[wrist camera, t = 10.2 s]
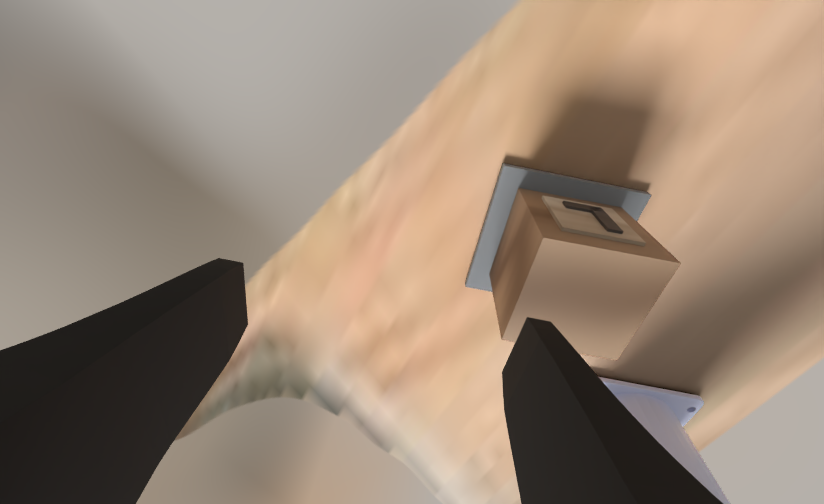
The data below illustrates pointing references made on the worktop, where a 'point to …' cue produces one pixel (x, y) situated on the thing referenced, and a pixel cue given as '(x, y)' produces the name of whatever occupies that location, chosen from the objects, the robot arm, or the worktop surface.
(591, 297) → the letter cube
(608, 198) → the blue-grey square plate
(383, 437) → the worktop surface
